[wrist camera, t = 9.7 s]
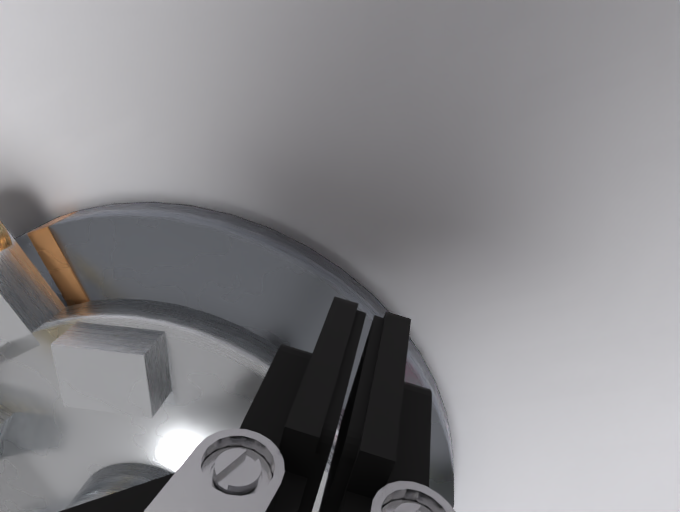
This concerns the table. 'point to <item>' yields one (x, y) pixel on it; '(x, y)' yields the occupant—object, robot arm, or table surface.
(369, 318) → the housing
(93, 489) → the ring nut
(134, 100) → the table surface
